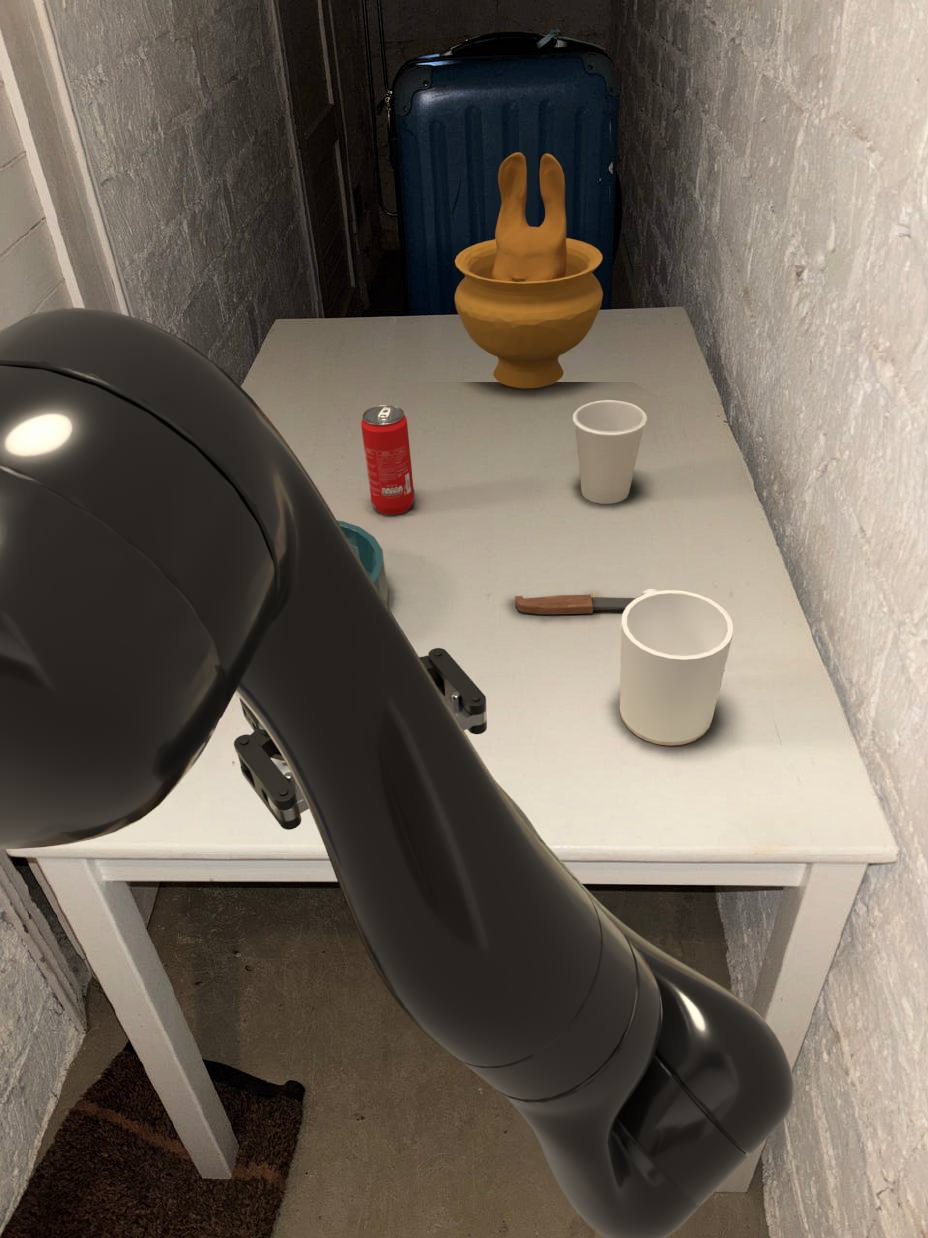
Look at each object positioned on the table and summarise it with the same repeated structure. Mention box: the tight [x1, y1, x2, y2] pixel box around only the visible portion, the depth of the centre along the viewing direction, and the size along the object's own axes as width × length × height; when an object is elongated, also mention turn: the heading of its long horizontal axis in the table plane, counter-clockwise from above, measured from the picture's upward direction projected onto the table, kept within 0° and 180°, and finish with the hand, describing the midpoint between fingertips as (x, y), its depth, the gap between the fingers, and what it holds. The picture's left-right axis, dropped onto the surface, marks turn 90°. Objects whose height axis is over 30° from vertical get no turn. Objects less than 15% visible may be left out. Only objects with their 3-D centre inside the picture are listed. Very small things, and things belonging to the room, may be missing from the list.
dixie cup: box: [572, 399, 648, 505], centre depth 107 cm, size 8×8×10 cm
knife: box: [514, 590, 637, 615], centre depth 92 cm, size 17×1×3 cm
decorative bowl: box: [454, 152, 604, 389], centre depth 128 cm, size 21×21×30 cm
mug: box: [619, 588, 734, 747], centre depth 78 cm, size 11×9×10 cm
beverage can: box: [360, 404, 415, 516], centre depth 106 cm, size 5×5×12 cm
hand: (311, 665), depth 59 cm, fingers open, 8 cm apart
